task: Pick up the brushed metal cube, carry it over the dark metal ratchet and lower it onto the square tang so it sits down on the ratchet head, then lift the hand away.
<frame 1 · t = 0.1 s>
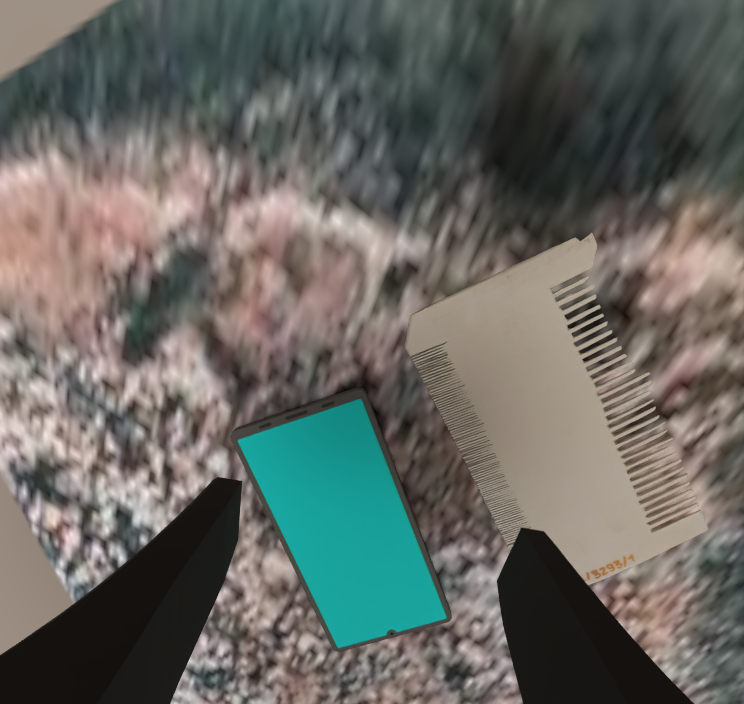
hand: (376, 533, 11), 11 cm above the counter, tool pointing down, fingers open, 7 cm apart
smartphone: (348, 521, 24), on the counter
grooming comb: (557, 431, 22), on the counter
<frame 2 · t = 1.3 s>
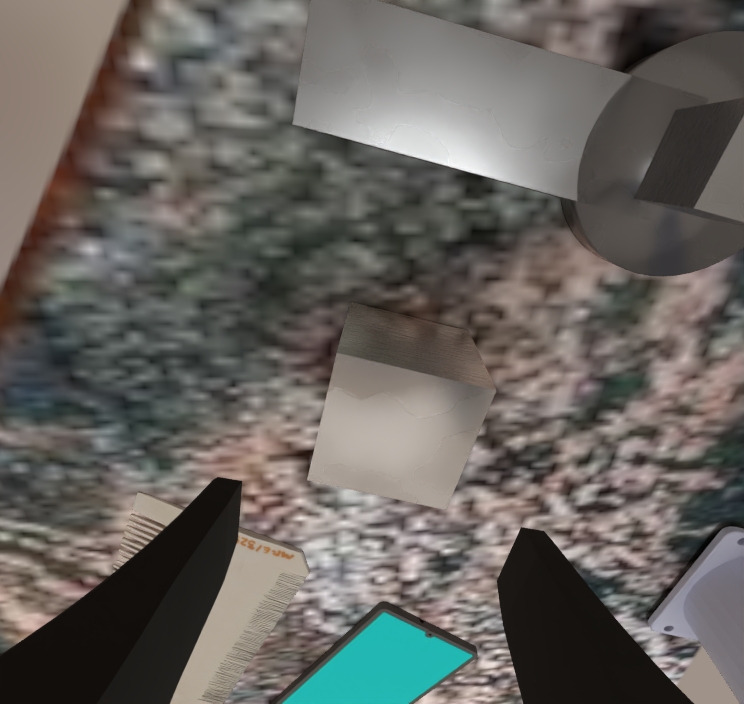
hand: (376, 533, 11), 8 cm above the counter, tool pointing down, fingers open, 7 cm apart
smartphone: (363, 672, 29), on the counter
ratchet: (555, 135, 14), on the counter
brushed metal cube: (394, 369, 18), on the counter
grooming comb: (188, 611, 26), on the counter
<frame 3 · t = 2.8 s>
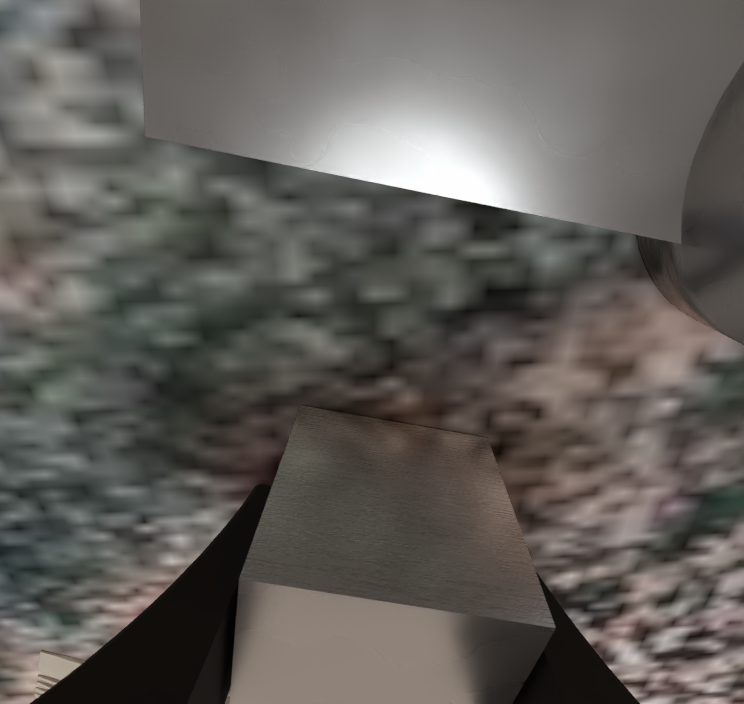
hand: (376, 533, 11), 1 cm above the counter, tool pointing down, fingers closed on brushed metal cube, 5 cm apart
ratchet: (627, 126, 8), on the counter
brushed metal cube: (377, 493, 12), on the counter, touching gripper
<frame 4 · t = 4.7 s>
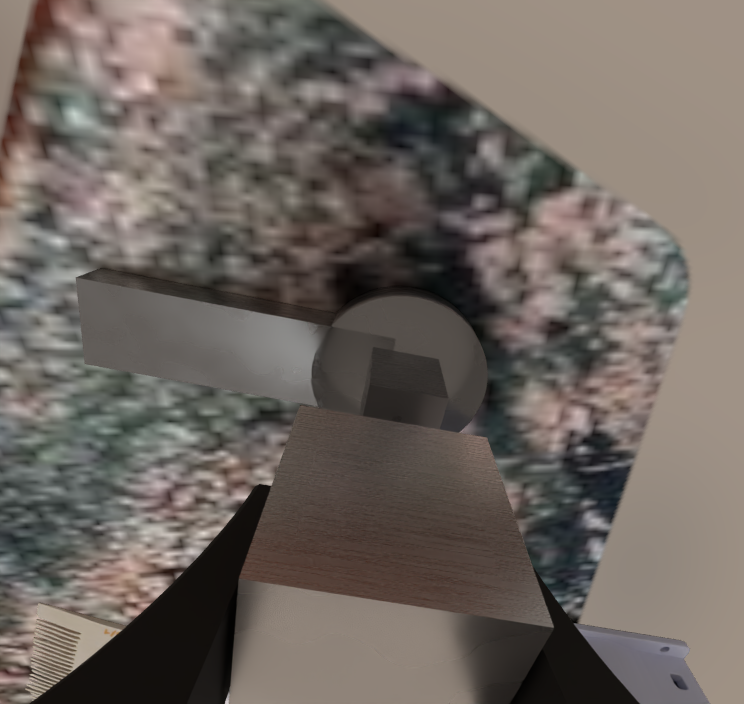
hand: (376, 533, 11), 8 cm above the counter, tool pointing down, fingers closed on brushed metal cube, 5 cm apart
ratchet: (306, 348, 18), on the counter
brushed metal cube: (376, 493, 12), point 7 cm above the counter, touching gripper
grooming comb: (105, 689, 30), on the counter
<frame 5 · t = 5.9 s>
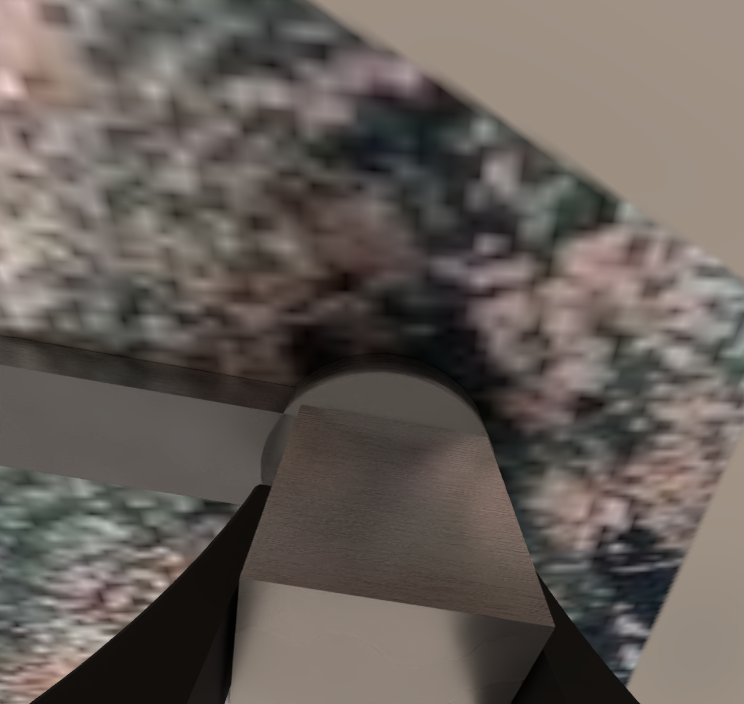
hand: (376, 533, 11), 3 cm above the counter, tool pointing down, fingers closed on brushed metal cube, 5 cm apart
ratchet: (257, 429, 14), on the counter
brushed metal cube: (377, 492, 12), point 2 cm above the counter, touching gripper
when the fingers open (3 cm above the counter, at t = 6.7 s): brushed metal cube stays where it is, resting on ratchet.
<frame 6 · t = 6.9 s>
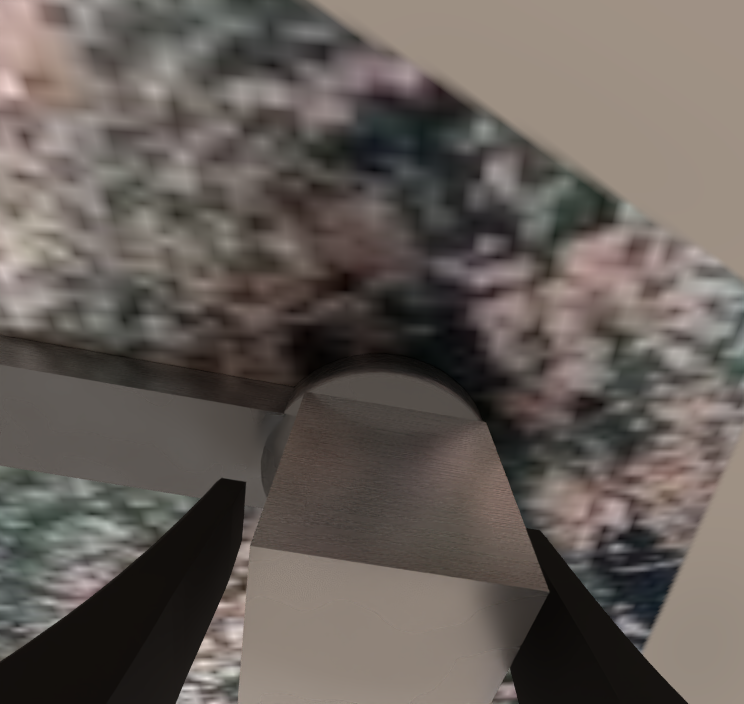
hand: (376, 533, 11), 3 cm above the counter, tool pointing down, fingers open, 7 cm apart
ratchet: (258, 429, 14), on the counter
brushed metal cube: (379, 477, 12), point 1 cm above the counter, touching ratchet
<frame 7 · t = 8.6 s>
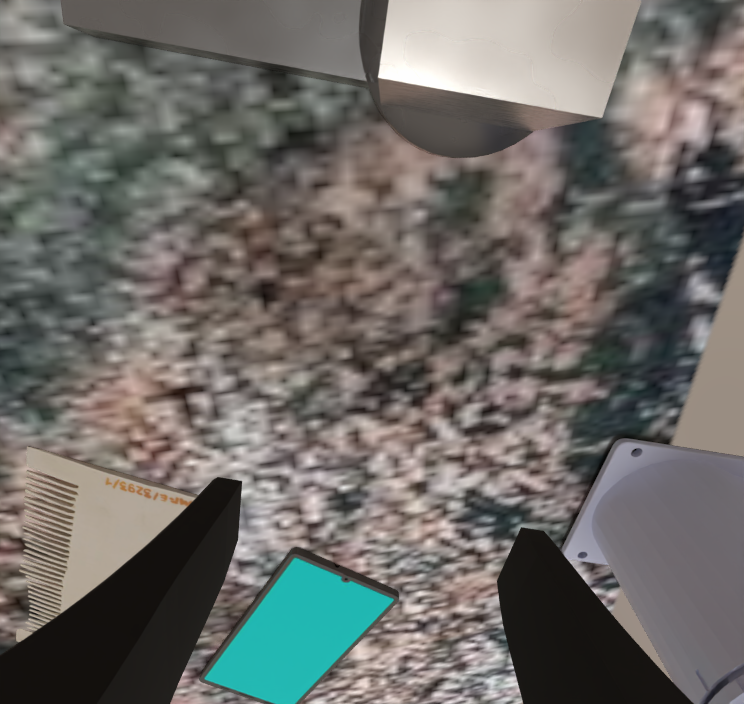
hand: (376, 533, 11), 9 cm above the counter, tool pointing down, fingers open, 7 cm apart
smartphone: (295, 627, 28), on the counter
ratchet: (347, 20, 14), on the counter
brushed metal cube: (476, 24, 13), point 1 cm above the counter, touching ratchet
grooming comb: (110, 572, 27), on the counter
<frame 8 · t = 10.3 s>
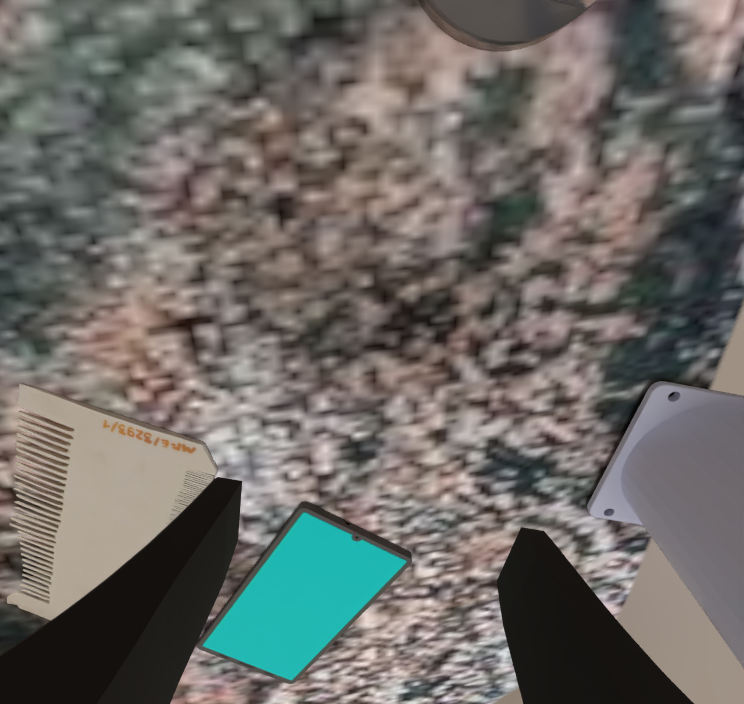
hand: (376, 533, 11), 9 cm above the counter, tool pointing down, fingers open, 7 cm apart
smartphone: (300, 592, 27), on the counter
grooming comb: (106, 529, 25), on the counter
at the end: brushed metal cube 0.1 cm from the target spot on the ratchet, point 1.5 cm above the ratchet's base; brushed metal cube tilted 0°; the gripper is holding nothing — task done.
